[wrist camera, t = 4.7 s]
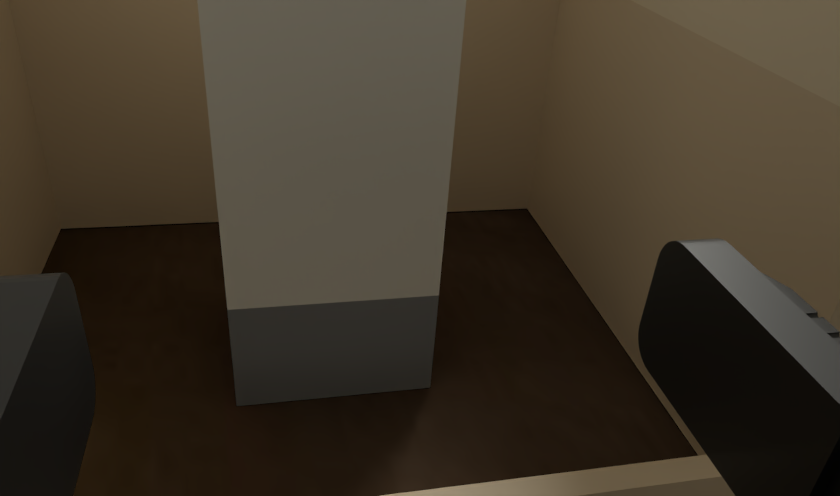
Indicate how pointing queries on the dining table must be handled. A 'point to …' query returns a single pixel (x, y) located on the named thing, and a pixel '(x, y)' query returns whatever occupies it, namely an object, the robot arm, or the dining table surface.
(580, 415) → the dining table surface
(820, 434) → the robot arm
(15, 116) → the storage bin
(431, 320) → the box
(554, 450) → the dining table surface
